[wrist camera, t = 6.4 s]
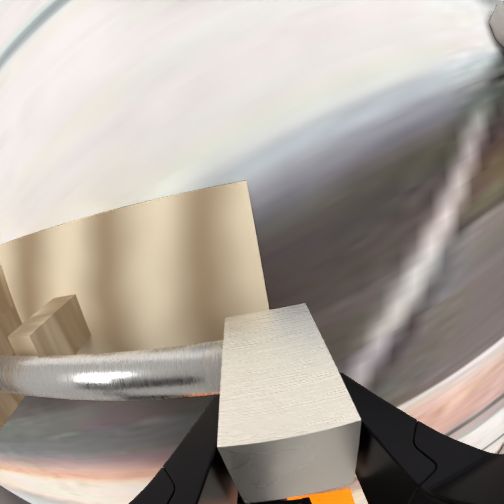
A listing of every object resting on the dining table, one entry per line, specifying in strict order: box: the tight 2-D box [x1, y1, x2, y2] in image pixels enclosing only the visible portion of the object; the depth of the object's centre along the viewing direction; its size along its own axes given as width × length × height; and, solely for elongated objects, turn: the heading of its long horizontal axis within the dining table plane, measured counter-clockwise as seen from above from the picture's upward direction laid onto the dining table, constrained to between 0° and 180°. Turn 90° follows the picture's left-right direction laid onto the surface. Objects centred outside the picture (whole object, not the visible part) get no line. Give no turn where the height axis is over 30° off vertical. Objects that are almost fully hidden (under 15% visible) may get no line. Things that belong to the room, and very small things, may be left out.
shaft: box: [0, 303, 361, 503], centre depth 8 cm, size 21×3×6 cm, turn 100°
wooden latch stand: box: [0, 180, 269, 430], centre depth 13 cm, size 29×14×12 cm, turn 100°
